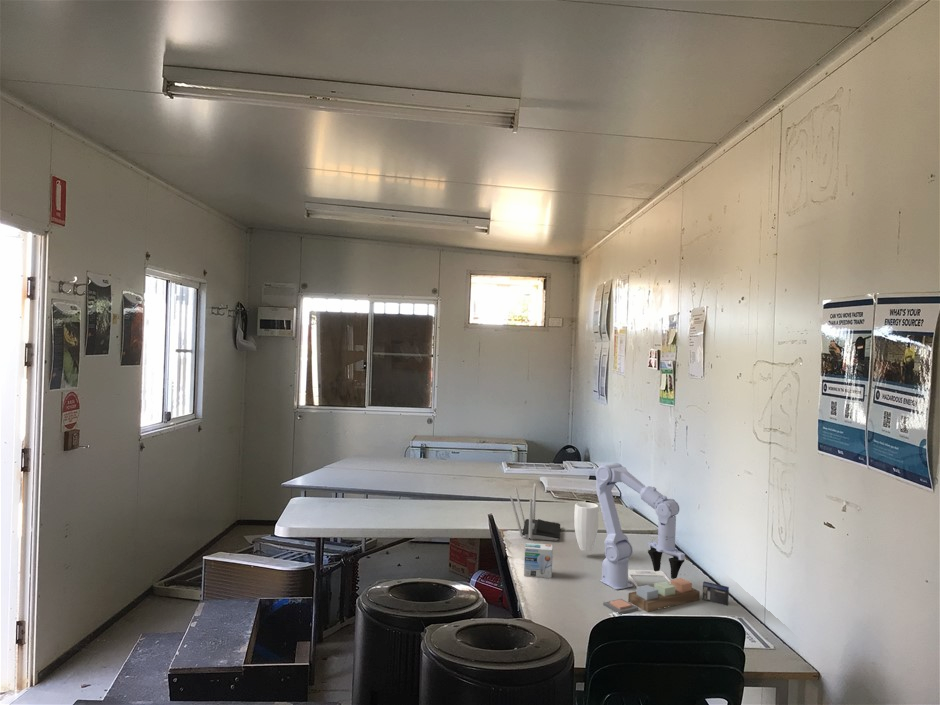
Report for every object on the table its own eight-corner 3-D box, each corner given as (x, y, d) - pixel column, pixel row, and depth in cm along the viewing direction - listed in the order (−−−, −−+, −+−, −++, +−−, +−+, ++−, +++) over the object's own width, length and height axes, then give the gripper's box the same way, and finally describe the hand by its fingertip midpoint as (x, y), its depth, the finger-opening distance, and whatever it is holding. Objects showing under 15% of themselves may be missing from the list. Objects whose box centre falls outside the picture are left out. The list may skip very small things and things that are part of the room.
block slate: (636, 598, 209) (636, 587, 209) (647, 596, 211) (647, 584, 211) (646, 604, 205) (647, 592, 205) (657, 601, 207) (658, 590, 207)
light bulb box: (523, 576, 232) (524, 547, 232) (524, 570, 238) (525, 542, 238) (552, 578, 230) (552, 549, 230) (552, 572, 237) (552, 544, 237)
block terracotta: (670, 591, 217) (670, 580, 217) (680, 589, 219) (680, 578, 219) (681, 596, 212) (681, 585, 212) (691, 594, 215) (691, 582, 215)
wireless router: (559, 546, 269) (560, 500, 269) (507, 542, 273) (508, 497, 273) (560, 525, 302) (561, 484, 302) (513, 521, 306) (514, 481, 306)
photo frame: (661, 570, 241) (677, 587, 223) (661, 572, 241) (677, 590, 223) (624, 568, 241) (637, 586, 223) (624, 571, 241) (637, 589, 223)
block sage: (653, 595, 213) (654, 583, 213) (664, 592, 215) (664, 581, 215) (664, 600, 208) (664, 588, 208) (675, 597, 211) (675, 586, 211)
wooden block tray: (628, 601, 210) (628, 593, 210) (679, 590, 222) (679, 582, 222) (647, 612, 202) (647, 602, 202) (699, 599, 214) (699, 591, 214)
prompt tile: (603, 604, 207) (603, 600, 207) (621, 601, 211) (621, 596, 211) (619, 614, 200) (619, 610, 200) (637, 610, 204) (637, 605, 204)
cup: (598, 561, 250) (599, 509, 250) (572, 559, 252) (573, 507, 252) (597, 553, 260) (599, 503, 260) (573, 551, 262) (574, 501, 262)
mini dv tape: (702, 599, 214) (702, 582, 214) (703, 598, 215) (703, 581, 215) (727, 605, 209) (727, 588, 209) (728, 604, 211) (728, 586, 211)
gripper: (642, 530, 215) (641, 569, 216) (675, 542, 203) (673, 583, 203) (656, 528, 219) (655, 566, 219) (689, 540, 206) (688, 580, 207)
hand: (665, 574), depth 211 cm, fingers open, 7 cm apart
